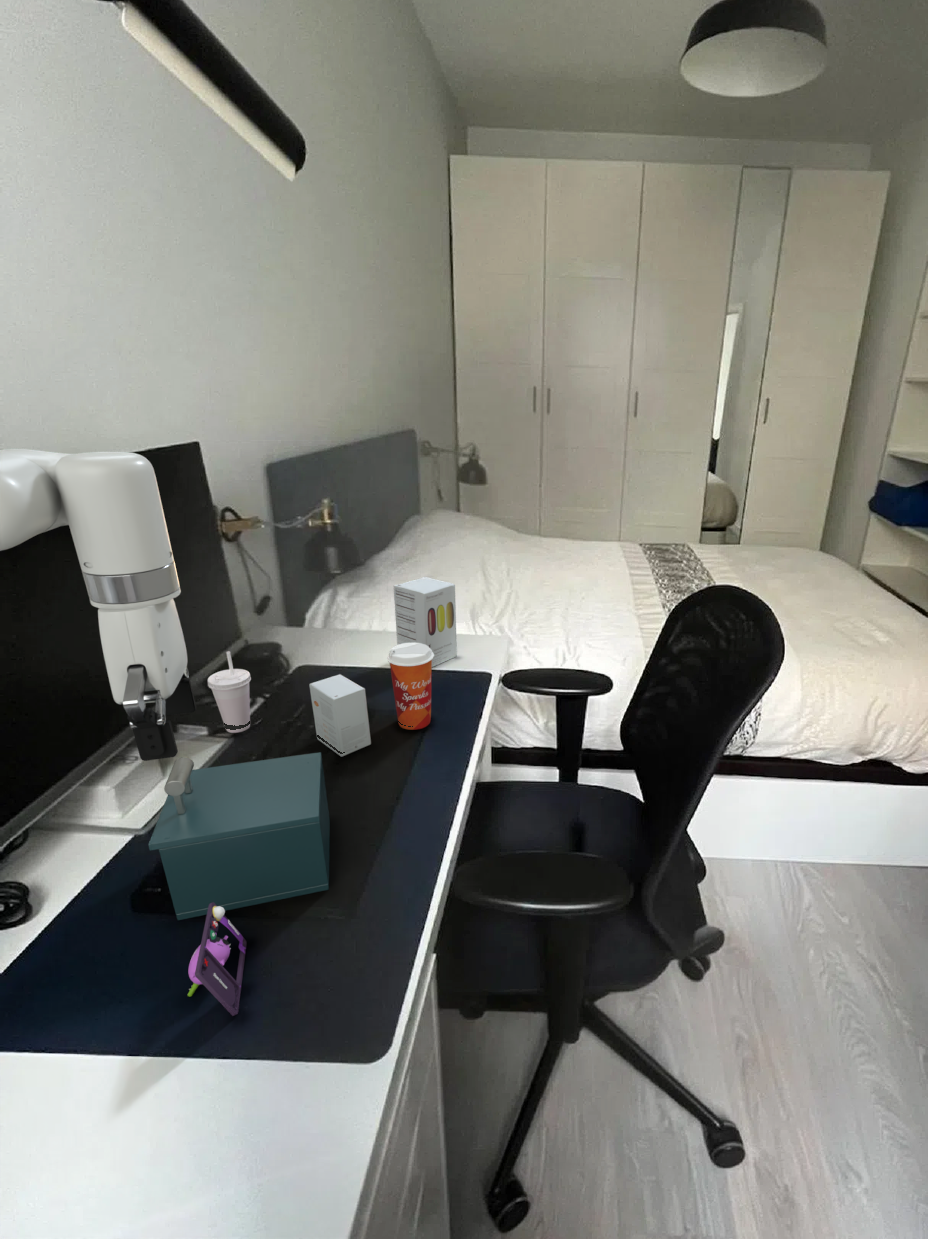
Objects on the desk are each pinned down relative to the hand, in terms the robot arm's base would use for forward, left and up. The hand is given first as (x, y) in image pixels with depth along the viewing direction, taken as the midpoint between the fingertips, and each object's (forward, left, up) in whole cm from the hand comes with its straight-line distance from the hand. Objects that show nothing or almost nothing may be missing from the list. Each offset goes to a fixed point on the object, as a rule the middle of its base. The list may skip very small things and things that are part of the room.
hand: (171, 733), depth 68 cm
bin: (+3, +5, -20) cm, 21 cm away
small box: (-13, +29, -20) cm, 38 cm away
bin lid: (+3, +5, -10) cm, 12 cm away
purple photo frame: (+15, -7, -20) cm, 26 cm away
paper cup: (-9, +41, -20) cm, 47 cm away
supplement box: (-28, +62, -20) cm, 71 cm away
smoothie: (-31, +21, -20) cm, 42 cm away
